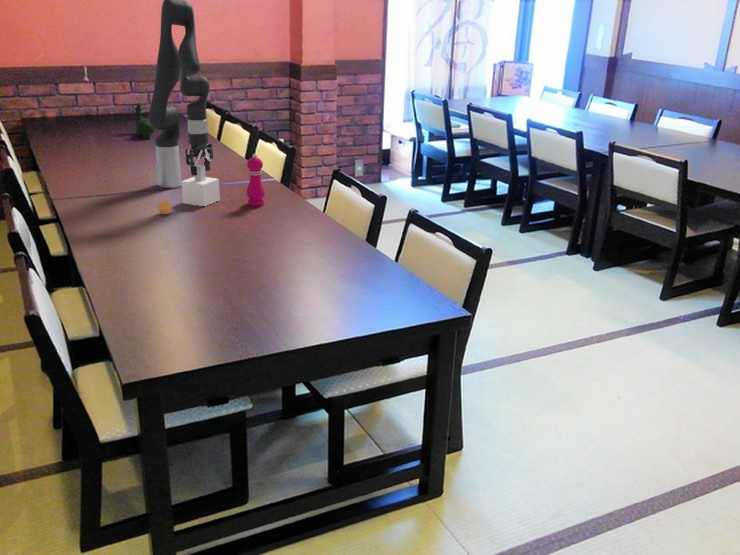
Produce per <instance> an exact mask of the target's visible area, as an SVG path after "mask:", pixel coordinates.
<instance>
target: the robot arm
mask: <svg viewBox="0 0 740 555" xmlns="http://www.w3.org/2000/svg"><path fill="white" fill-rule="evenodd" d="M160 15H161V16H160V36H159V38H160V39H159V46H158V54H157V62H156V70H155V77H154V78H155V79H154V87H153V91H152V92H153V93H152V98H151V102H150V106H149V110H148V119H149V122H150V124H151V126H152V127H153V128H154V130H156V131H160V130H161V132H160V134H159V135H158V136H157V137H155V139H154V144H155V155H156V162H155V163H154V168H155V178H156V179H155V180H156V186H158V187H160V188H164V189H165V188H167V189H168V188H169V189H171V188H178V187H180V186H181V187H182V183H181V181H182V178H181V177H182V176H181V164H180V161H181V160H180V150H179V149H180V148H179V140H180V137H181V136H180V135H181V130H180V129H181V128H180V114H179V112H178V110H177V108H176V107H175V106H173V105H171V104H168V102H169V99H170V96H171V94H172V93H173V90H174V89H175V88H176V86H177V84H178V82H179V80H180V84H179V88H180V92H181V94H182V95H184V96H185V97H190V98H191V97H198V99H197V100H196V101H194V102H190V103H188V104H187V105H186V115H187V139H188V144H189V145H190V149H189V148H186V149H185V162H186V163H185V165H187V166H189V167H190V174H191V176H192V177H195V176H196V175H197V166H196V165H198V162H199V161H200V159H202V160H203V165H204V166H205V172H210V171H211V160H213V159H214V151H213V144H212V143H209V142H210V141H209V139H210V138H209V125H208V121H207V119H208V118H207V102H208V98H209V92H210V86H211V85H210V82H209V80H208V78H207V77H205V76H195V75H197V74H199V73H200V71H201V64H200V59H199V55H198V50H197V40H196V39H197V37H196V25H195V24H196V23H195V14H194V7H193V5H192V3H191V2H190V1H188V0H163V1H162V6H161V14H160ZM173 26H179V27H180V26H181V27H184V32H185V33H184V36H183V38H182V41H181V42H180V43H179V47H178V48H177V46H176V43H175V41H174V38H173V33H172V32H173V30H172V28H173ZM180 78H181V79H180Z"/></svg>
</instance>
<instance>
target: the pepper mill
mask: <svg viewBox="0 0 740 555" xmlns="http://www.w3.org/2000/svg"><path fill="white" fill-rule="evenodd" d="M263 165H264V162H263V161H262V159H261V158H258V155H257V153H252V157H251V158H249V159H248V160H247V163H246V167H247V169H248V174H249V183H248V186H247V188H246V196H247V198H248V199H247V204H248V206H250V205H251V206H252V207H260V206H263V205H265V199H264V198H265V195H266V191H265V187H264V185H263V182H262V178H261V175H262V174H263V173H262V168H263Z"/></svg>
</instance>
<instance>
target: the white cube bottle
mask: <svg viewBox="0 0 740 555" xmlns="http://www.w3.org/2000/svg"><path fill="white" fill-rule="evenodd" d="M196 166H197V175H196V176H192V177H190V178H186V179H184V180H181V192H182V193H181V196H182V204H185V205H186V204H187V205H192V206H197V205H198V206H197V207H202V206H206V207H208V206H210V205H209V204H211V205H213V204H215V203H217V202H216V201H218V202H220V201H221V193H220V191H221V190H220V179H219V178H214V177H209V176H206V171H205V166H204V164H202V165H201V164H196ZM219 200H220V201H219ZM214 202H215V203H214ZM212 203H213V204H212ZM207 205H208V206H207Z"/></svg>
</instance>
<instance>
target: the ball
mask: <svg viewBox="0 0 740 555" xmlns="http://www.w3.org/2000/svg"><path fill="white" fill-rule="evenodd" d="M156 208H157V211H158V212H159V213H160V214H161V215H168V214H170V213H171V211H172V205H171V203H170V202H169V201H167V200H162V201H159V202H158V204H157V207H156Z"/></svg>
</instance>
